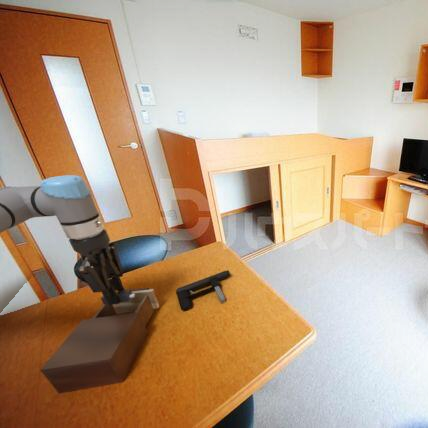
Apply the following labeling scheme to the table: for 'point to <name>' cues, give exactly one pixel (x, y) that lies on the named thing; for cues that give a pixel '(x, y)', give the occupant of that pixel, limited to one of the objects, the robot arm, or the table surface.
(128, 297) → the box cutter
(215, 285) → the black clamp
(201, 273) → the table surface
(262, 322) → the table surface
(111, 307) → the drawer
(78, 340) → the cabinet
